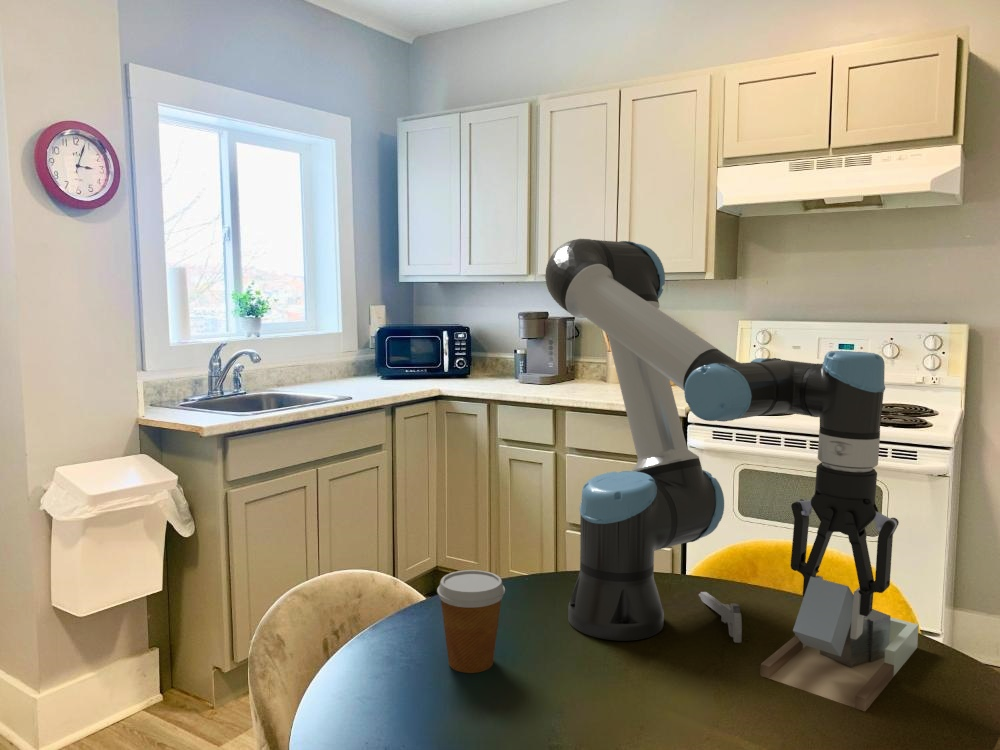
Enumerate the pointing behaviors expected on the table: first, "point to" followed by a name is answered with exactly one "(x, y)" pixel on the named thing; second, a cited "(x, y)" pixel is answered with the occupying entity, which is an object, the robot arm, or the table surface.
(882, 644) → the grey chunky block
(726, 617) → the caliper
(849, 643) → the grey squarish block
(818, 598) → the grey block
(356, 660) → the table surface
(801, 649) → the slot board
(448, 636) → the disposable coffee cup
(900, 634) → the tray
